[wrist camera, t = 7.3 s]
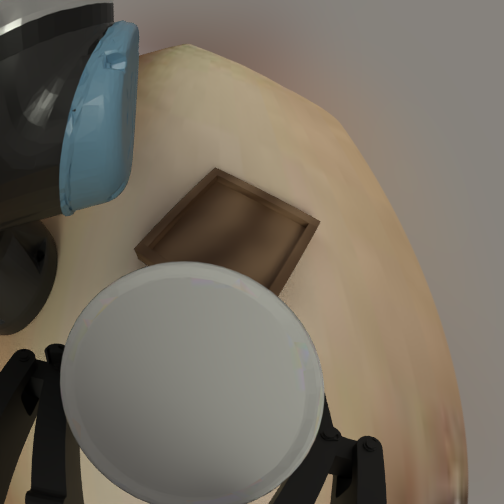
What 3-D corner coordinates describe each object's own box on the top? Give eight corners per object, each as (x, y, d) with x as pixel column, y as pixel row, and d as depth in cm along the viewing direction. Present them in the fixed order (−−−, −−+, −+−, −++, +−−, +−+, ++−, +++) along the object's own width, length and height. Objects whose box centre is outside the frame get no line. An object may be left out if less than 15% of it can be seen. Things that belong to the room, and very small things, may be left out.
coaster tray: (138, 258, 27) (134, 248, 25) (214, 179, 34) (215, 167, 32) (254, 334, 25) (257, 329, 23) (315, 231, 32) (320, 221, 30)
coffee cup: (292, 394, 18) (382, 382, 8) (200, 475, 14) (186, 558, 4) (206, 308, 21) (200, 209, 11) (115, 381, 17) (15, 351, 7)
